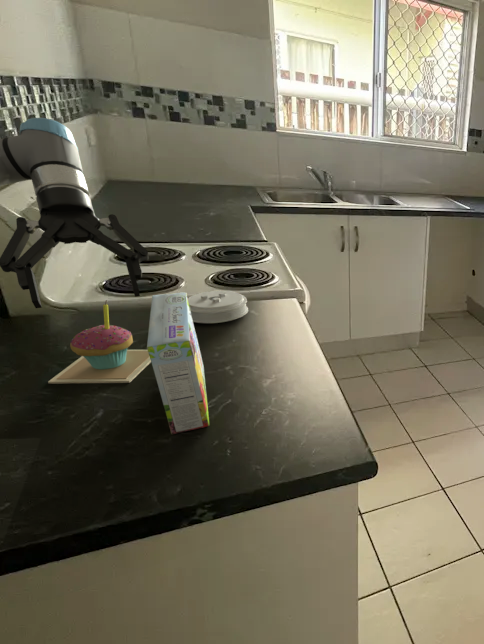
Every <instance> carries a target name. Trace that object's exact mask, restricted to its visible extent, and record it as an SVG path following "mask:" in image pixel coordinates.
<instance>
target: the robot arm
mask: <svg viewBox="0 0 484 644" xmlns="http://www.w3.org/2000/svg"><path fill="white" fill-rule="evenodd" d="M79 152H80V150H79V147H78V146H77V144H76V141H75V137H74V135H73V133H72V131H71V130H70V129H69V128H68V127H67V126H66V125H65V124H62V123H61V122H59V121H57V120H54V119H50V118H46V117H31V118H28V119H26V120H25V121H24V122H21V124H20V126H19V135H12V136H8V137H4V138H0V187H2V186H5V185H10V184H15V183H21V182H25V181H26V182H27V181H31V183H32V187H33V190H34V194H35V196H36V197H35V199H36V203H37V207H38V211H39V219H38V220H32V219H31V220H30V219H29V220H27V219H26V218H25V217H24V216H19V217H17V218H16V228H15V231H14V233H13V234H12V235H11V237H10V239H9V241H8V243H7V244H6V245H5V246H6V247H5V249H4V250H3V252H2V254H1V255H0V268H1V270H2V271H3V273H11V272H12V273H15V274H16V278H17V283H18V285H19V287H20V288H21V289H22V291H25V290H27V291H28V290H29V295H30V299H31V302H32V304H33V306H34V308H35V309H41V308H43V306H42V303H41V298H40V294H39V290H38V284H37V281H36V276H35V273H34V271H33V267H35V266H36V265H37V264H38V263H39V261H40V260H42V258H44V256H46V255H47V253H48V252H49V251H51V249H53V248H55V247H57V246H58V244H59V243H63V244H64V245H69V244H70V245H71V244H75V243H79V244H85V243H87V242H89V241H91V242H93V243H94V244H96V245H98V246H101V247H102V248H104V249H106V250H108V251H109V252H111V253H113V254H114V255H116V256H118V257H119V258H121V259H122V260H124V261H125V265H126V269H127V272H128V277H129V281H130V283H131V288H132V291H133V295H134V297H141V295H140V289H139V286H138V285H139V284H138V281H137V280H138V279H142V278H143V272H142V269H141V265H140V263H141V262H147V261H149V251H148V250H147V249H146V247H144V246H143V245H142V244H141V243H140V242H139V241H138V240H137V239H136V238H135V237H134V236H133V235H132V234H131V233H129V232H128V230H127V229H126V228H125V227H123V226H122V225H121V223H120V222H119V220H118V217H117V215H115V214H108V216H107V217H102V218H99V217H97V216H96V213H95V209H94V207H93V203H92V198H91V197H90V191H89V188H88V183H87V179H86V177H85V174H84V170H83V165H82V162H81V157H80V153H79ZM101 227H105V228H106V229H107V230H109V231H112V232H113V233H114V235H115V236H116V237H117V238H118V239H120V241H121V242H122V243H124V244H125V245H126V246H127V247H128V248H127V247H125V246H124V245H122V244H121V243H119V242H117V241H116V240H114V239H112V238H111V237H109V236H107V235H106V234H104V233H103V232H102V231H101V230H100V228H101ZM38 229H40V230H41V231H43V232H42V234H41V236H40V238H38V239H37V240H36V241H35V242H34V244H32V245H31V246H30V247H29V248H28V249H27V250H26V251H25V252H24V253H23V251H24V249H25V247H26V245H27V243H28V241H29V240H30V237H31V235H33V234H34V233H35V232H36V230H38ZM22 253H23V254H22ZM21 254H22V255H21Z"/></svg>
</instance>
